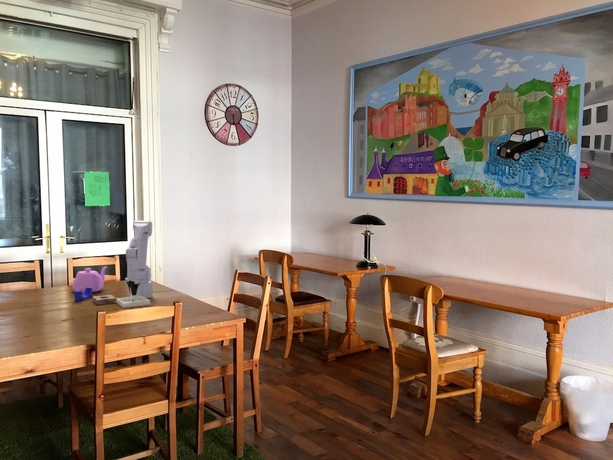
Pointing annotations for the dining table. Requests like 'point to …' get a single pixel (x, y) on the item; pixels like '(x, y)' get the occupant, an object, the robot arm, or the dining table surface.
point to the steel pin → (132, 297)
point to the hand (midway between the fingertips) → (133, 294)
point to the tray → (138, 302)
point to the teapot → (89, 280)
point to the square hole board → (104, 299)
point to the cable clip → (83, 294)
